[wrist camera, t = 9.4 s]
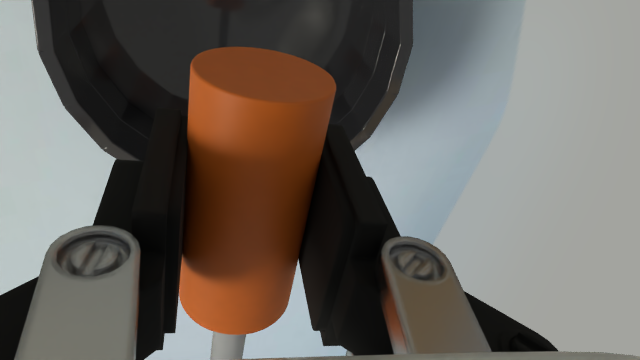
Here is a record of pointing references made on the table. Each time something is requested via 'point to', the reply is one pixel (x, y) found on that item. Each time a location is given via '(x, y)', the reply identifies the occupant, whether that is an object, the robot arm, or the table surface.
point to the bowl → (209, 33)
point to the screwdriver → (248, 186)
